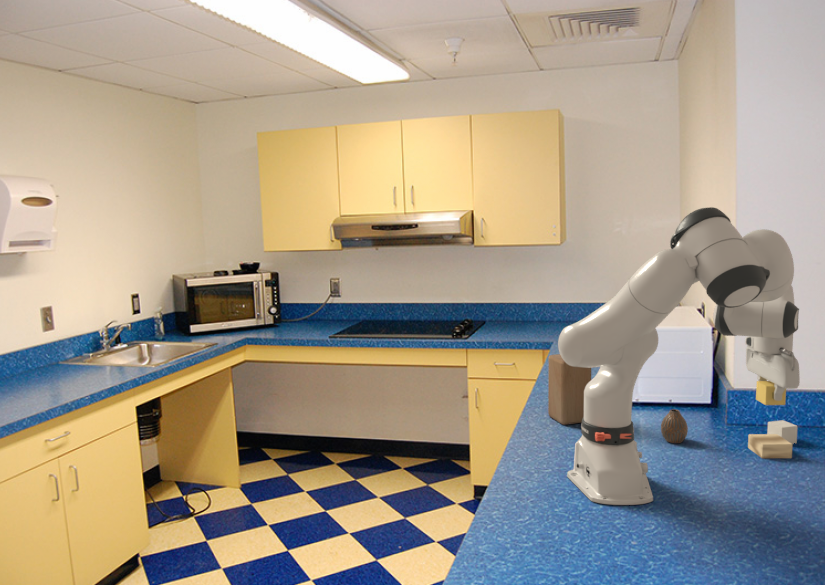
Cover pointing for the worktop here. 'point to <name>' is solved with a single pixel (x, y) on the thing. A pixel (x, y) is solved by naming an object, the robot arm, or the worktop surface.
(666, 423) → the vase
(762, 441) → the maple base
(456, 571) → the worktop surface
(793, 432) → the grey cube
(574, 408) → the block
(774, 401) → the ochre cube
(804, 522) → the worktop surface
